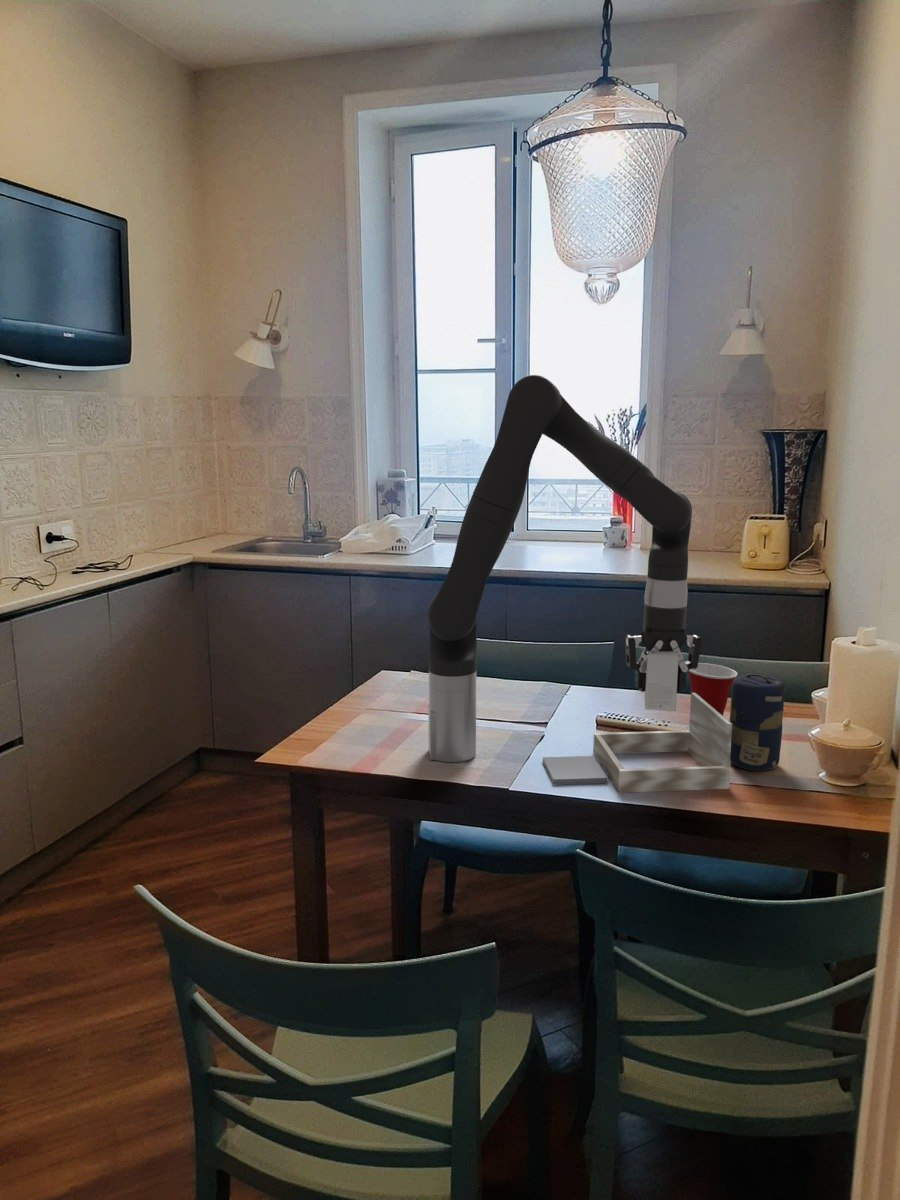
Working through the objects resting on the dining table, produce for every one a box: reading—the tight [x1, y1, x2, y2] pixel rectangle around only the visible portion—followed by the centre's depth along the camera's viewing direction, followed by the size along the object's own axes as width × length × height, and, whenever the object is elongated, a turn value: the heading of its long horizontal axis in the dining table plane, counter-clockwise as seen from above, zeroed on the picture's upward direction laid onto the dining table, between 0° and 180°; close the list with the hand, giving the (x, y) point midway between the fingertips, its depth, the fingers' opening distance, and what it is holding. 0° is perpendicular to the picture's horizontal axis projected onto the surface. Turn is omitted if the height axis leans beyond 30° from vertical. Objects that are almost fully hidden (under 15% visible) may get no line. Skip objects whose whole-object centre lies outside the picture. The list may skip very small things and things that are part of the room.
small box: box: [644, 650, 679, 712], centre depth 166 cm, size 8×6×10 cm
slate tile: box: [542, 755, 609, 785], centre depth 168 cm, size 10×11×1 cm
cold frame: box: [592, 692, 732, 793], centre depth 168 cm, size 20×20×12 cm
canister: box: [729, 673, 786, 771], centre depth 170 cm, size 10×10×18 cm
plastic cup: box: [687, 662, 738, 717], centre depth 196 cm, size 11×11×12 cm
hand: (660, 690), depth 166 cm, fingers closed on small box, 6 cm apart
